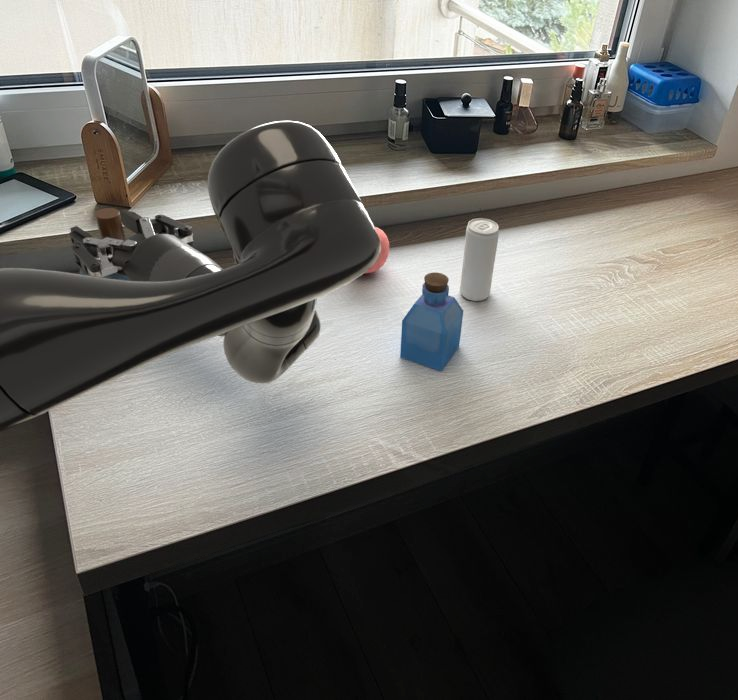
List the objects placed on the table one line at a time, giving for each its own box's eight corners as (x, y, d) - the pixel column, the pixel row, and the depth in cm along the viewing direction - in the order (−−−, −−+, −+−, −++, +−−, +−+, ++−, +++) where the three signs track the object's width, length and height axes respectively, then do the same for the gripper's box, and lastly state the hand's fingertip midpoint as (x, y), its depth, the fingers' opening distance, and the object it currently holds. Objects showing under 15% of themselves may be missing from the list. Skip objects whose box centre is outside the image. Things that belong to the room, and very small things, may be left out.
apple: (389, 282, 113) (391, 237, 108) (341, 282, 111) (341, 236, 107) (387, 257, 118) (389, 214, 113) (342, 256, 117) (341, 212, 112)
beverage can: (453, 293, 112) (460, 224, 105) (472, 281, 115) (481, 214, 108) (476, 306, 110) (485, 237, 103) (496, 294, 113) (506, 226, 106)
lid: (98, 303, 90) (81, 240, 85) (70, 269, 95) (52, 207, 90) (173, 280, 96) (161, 219, 90) (142, 248, 101) (129, 189, 95)
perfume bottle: (400, 357, 99) (404, 283, 91) (419, 333, 103) (424, 261, 96) (441, 371, 97) (448, 297, 90) (459, 346, 102) (467, 274, 94)
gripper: (226, 228, 88) (144, 181, 95) (117, 272, 78) (35, 216, 86) (232, 280, 92) (154, 231, 100) (130, 327, 83) (51, 270, 90)
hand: (99, 225), depth 93 cm, fingers open, 6 cm apart
